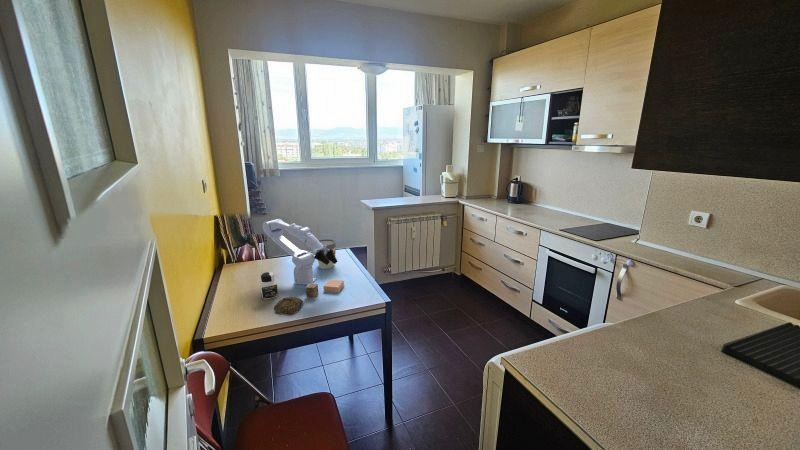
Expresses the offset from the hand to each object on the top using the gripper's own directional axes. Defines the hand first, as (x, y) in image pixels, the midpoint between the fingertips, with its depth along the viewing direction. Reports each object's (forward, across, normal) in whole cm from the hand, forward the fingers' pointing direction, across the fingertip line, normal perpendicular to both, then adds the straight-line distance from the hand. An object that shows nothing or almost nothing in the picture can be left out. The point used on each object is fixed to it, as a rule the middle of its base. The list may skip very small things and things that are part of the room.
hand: (332, 262), depth 166 cm
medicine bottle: (-12, -9, +32) cm, 36 cm away
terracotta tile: (+7, +7, +12) cm, 16 cm away
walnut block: (+3, -2, +19) cm, 19 cm away
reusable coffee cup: (-14, +31, +18) cm, 38 cm away
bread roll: (+3, -16, +25) cm, 29 cm away
